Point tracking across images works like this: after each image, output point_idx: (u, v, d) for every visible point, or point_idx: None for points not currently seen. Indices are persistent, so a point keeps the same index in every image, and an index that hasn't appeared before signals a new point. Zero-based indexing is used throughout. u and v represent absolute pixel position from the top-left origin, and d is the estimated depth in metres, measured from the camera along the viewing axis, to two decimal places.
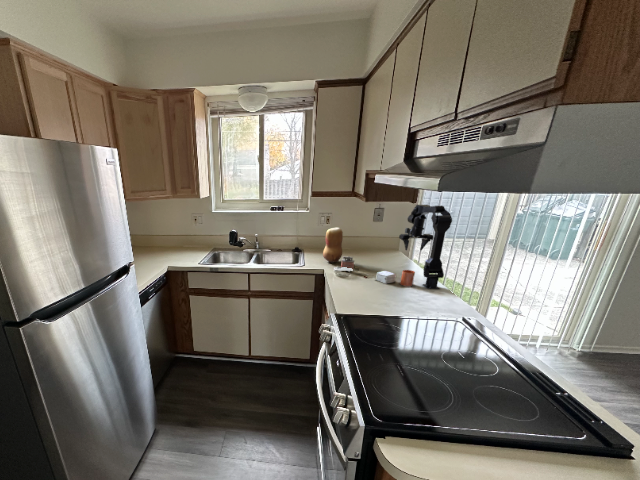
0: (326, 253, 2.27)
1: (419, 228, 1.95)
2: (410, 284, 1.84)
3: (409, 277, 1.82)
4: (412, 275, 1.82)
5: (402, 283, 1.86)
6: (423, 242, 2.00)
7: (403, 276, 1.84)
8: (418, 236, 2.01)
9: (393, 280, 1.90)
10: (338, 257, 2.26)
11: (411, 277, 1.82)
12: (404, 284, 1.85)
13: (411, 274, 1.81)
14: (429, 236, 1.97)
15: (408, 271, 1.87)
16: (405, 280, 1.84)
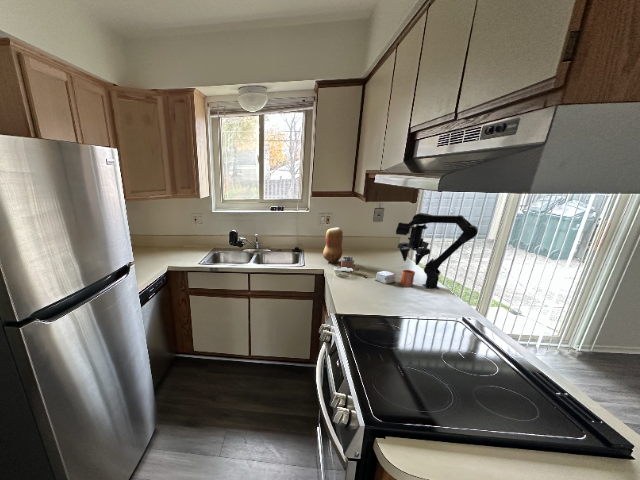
0: (326, 253, 2.27)
1: (410, 238, 1.79)
2: (410, 284, 1.84)
3: (409, 277, 1.82)
4: (412, 275, 1.82)
5: (402, 283, 1.86)
6: None
7: (403, 276, 1.84)
8: (417, 248, 1.81)
9: (393, 280, 1.90)
10: (338, 257, 2.26)
11: (411, 277, 1.82)
12: (404, 284, 1.85)
13: (411, 274, 1.81)
14: (418, 250, 1.75)
15: (408, 271, 1.87)
16: (405, 280, 1.84)
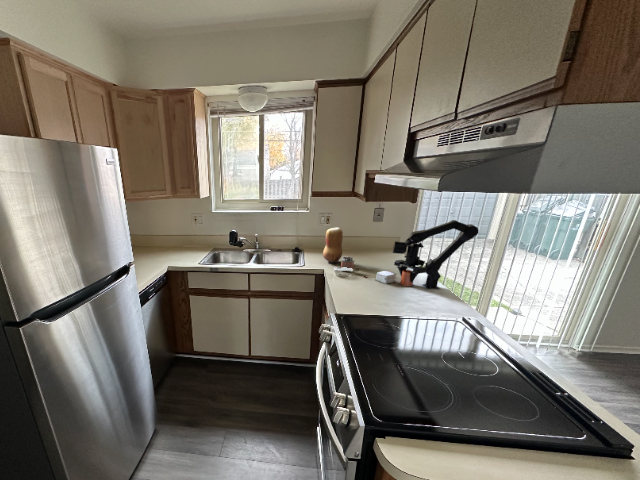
0: (326, 253, 2.27)
1: (407, 257, 1.80)
2: (410, 284, 1.84)
3: (409, 277, 1.82)
4: None
5: (402, 283, 1.86)
6: None
7: (403, 276, 1.84)
8: None
9: (393, 280, 1.90)
10: (338, 257, 2.26)
11: None
12: (404, 284, 1.85)
13: None
14: (415, 268, 1.76)
15: (408, 271, 1.87)
16: (405, 280, 1.84)
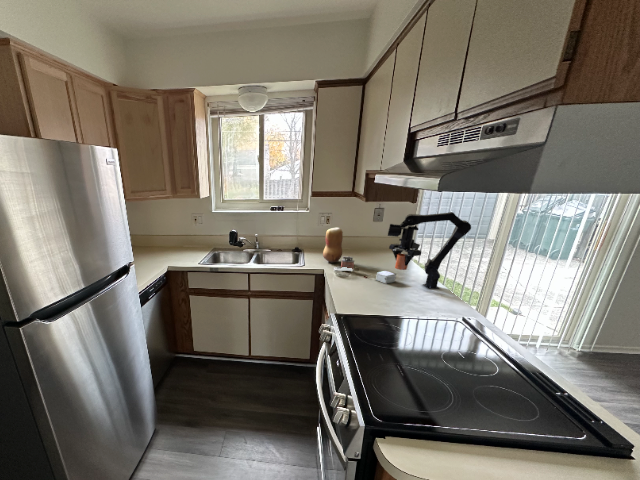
0: (326, 253, 2.27)
1: (402, 240, 1.79)
2: (405, 267, 1.83)
3: (404, 260, 1.81)
4: None
5: (397, 267, 1.84)
6: None
7: (398, 259, 1.83)
8: None
9: (393, 280, 1.90)
10: (338, 257, 2.26)
11: None
12: (399, 268, 1.83)
13: None
14: (410, 251, 1.75)
15: (403, 255, 1.85)
16: (400, 263, 1.82)
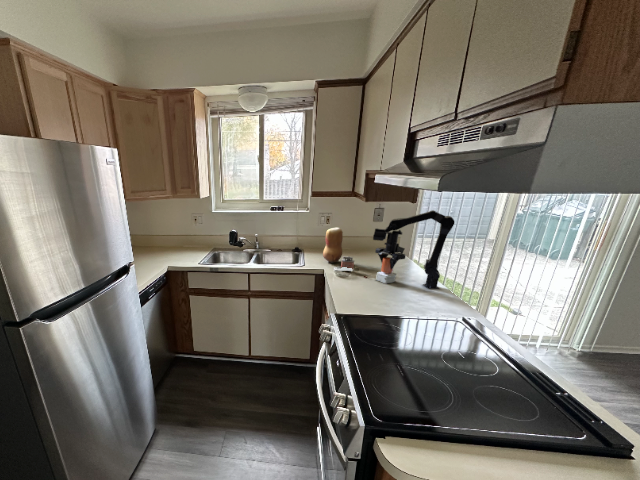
0: (326, 253, 2.27)
1: (387, 244, 1.84)
2: (390, 271, 1.88)
3: (389, 264, 1.86)
4: None
5: (383, 270, 1.89)
6: None
7: (383, 263, 1.88)
8: None
9: (393, 280, 1.90)
10: (338, 257, 2.26)
11: None
12: (384, 271, 1.88)
13: None
14: (394, 255, 1.80)
15: (388, 258, 1.90)
16: (385, 267, 1.87)
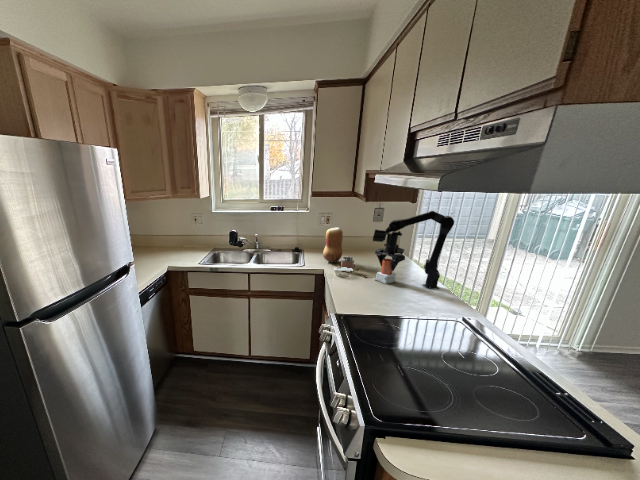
0: (326, 253, 2.27)
1: (386, 245, 1.84)
2: (390, 272, 1.88)
3: (389, 265, 1.86)
4: None
5: (382, 271, 1.90)
6: None
7: (383, 265, 1.88)
8: (393, 254, 1.85)
9: (393, 280, 1.90)
10: (338, 257, 2.26)
11: None
12: (384, 272, 1.89)
13: None
14: (394, 256, 1.80)
15: (388, 260, 1.91)
16: (385, 268, 1.88)
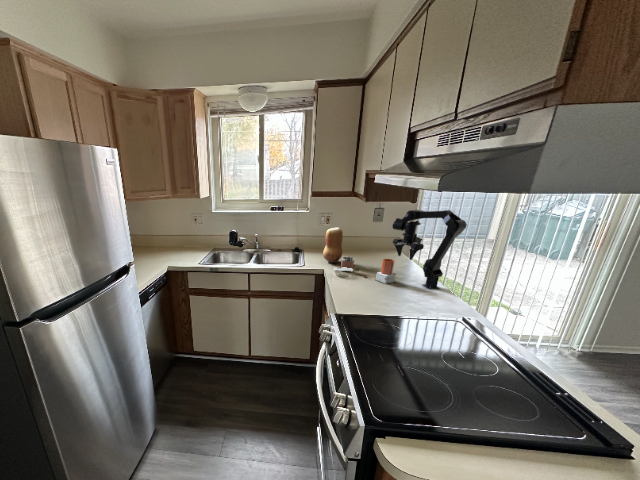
0: (326, 253, 2.27)
1: (405, 234, 1.87)
2: (390, 272, 1.88)
3: (389, 265, 1.86)
4: (392, 264, 1.86)
5: (382, 271, 1.90)
6: None
7: (383, 265, 1.88)
8: (411, 244, 1.88)
9: (393, 280, 1.90)
10: (338, 257, 2.26)
11: (391, 265, 1.86)
12: (384, 272, 1.89)
13: (391, 262, 1.85)
14: (412, 245, 1.83)
15: (388, 260, 1.91)
16: (385, 268, 1.88)
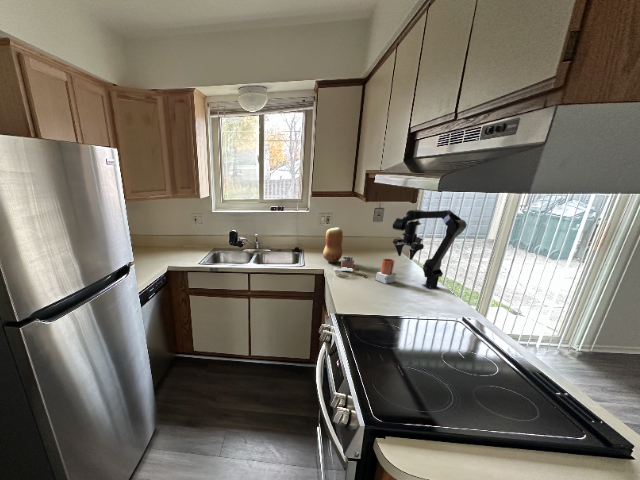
0: (326, 253, 2.27)
1: (405, 234, 1.87)
2: (390, 272, 1.88)
3: (389, 265, 1.86)
4: (392, 264, 1.86)
5: (382, 271, 1.90)
6: None
7: (383, 265, 1.88)
8: (411, 244, 1.88)
9: (393, 280, 1.90)
10: (338, 257, 2.26)
11: (391, 265, 1.86)
12: (384, 272, 1.89)
13: (391, 262, 1.85)
14: (412, 245, 1.83)
15: (388, 260, 1.91)
16: (385, 268, 1.88)
